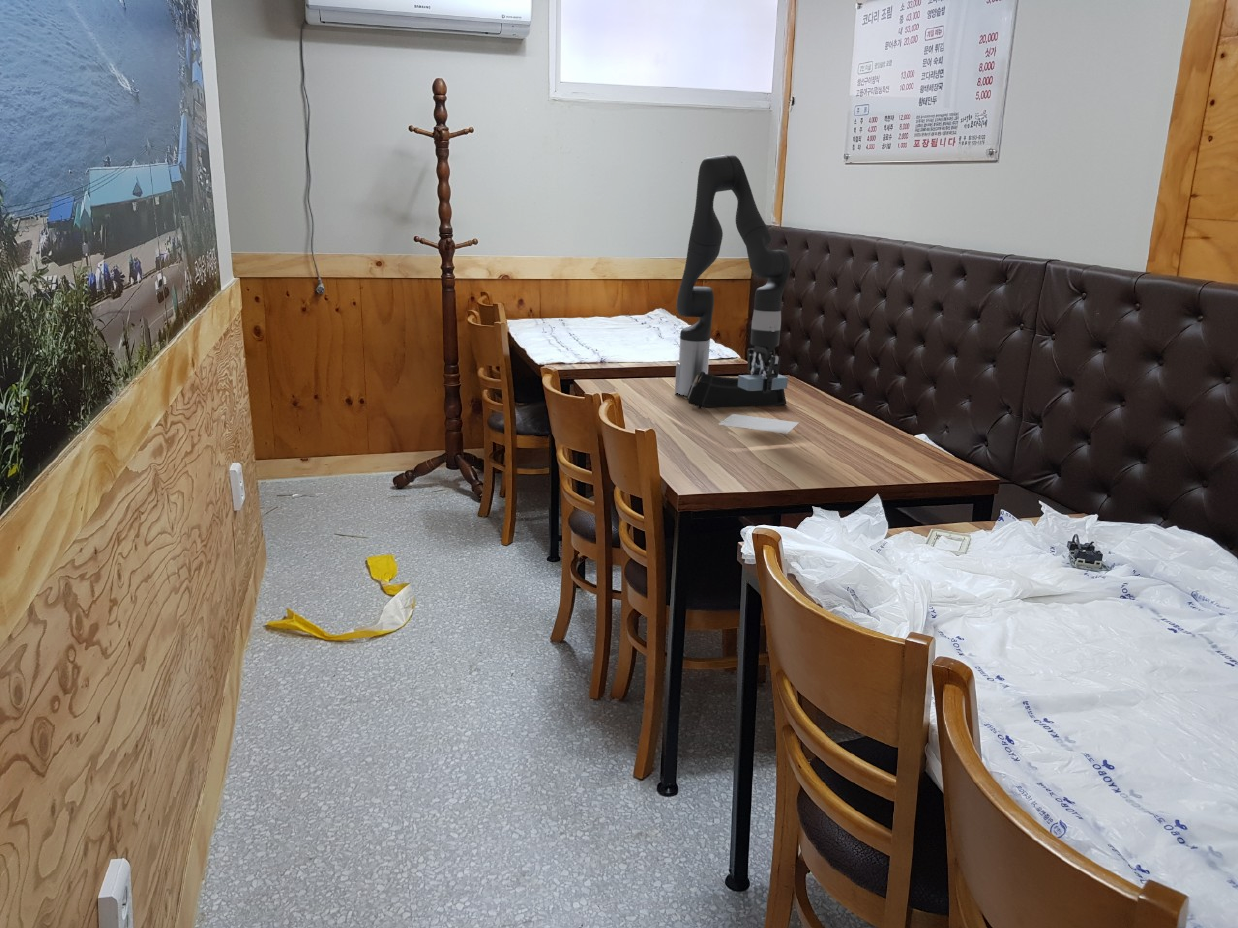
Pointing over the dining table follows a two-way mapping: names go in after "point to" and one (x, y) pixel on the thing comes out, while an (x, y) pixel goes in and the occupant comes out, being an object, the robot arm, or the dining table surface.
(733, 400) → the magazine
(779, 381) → the placard
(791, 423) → the mat
